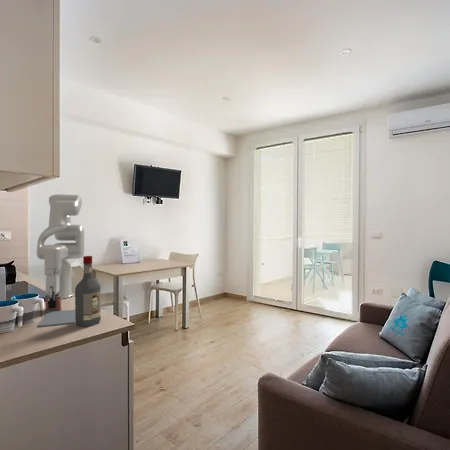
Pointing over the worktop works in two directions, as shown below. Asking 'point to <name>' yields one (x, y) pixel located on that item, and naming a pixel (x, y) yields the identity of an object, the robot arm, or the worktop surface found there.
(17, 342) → the worktop surface
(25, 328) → the worktop surface
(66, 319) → the mat
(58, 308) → the lighter
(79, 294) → the liquor
